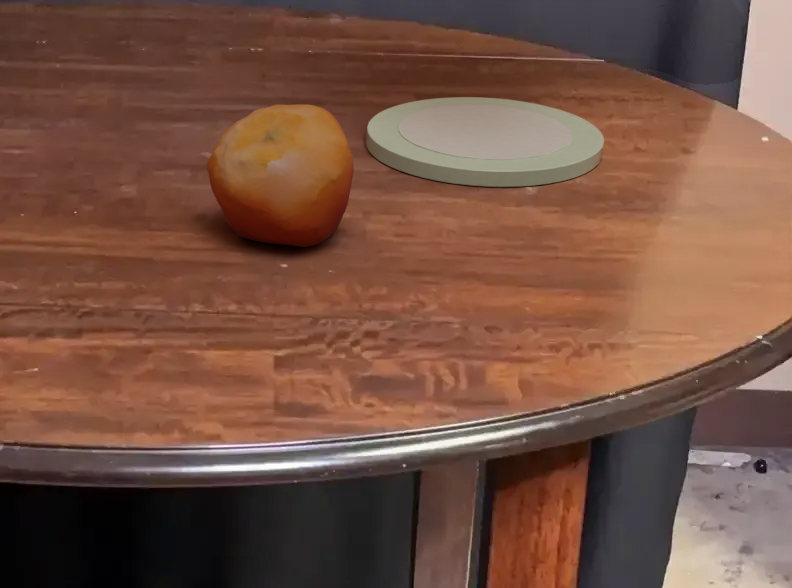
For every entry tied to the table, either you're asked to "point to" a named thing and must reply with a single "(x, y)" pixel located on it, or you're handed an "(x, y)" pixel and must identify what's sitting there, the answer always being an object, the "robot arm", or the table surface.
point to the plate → (484, 141)
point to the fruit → (283, 175)
